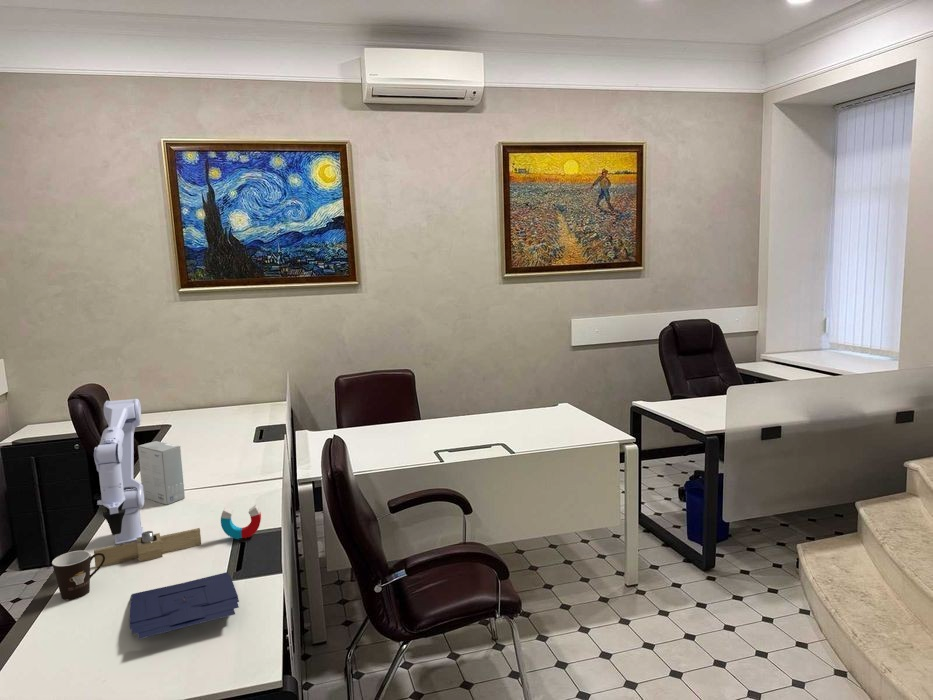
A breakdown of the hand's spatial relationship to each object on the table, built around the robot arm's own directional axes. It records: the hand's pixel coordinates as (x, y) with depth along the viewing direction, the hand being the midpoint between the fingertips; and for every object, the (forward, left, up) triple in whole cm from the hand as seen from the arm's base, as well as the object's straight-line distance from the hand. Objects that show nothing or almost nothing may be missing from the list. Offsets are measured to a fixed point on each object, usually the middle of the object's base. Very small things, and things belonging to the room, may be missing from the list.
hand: (116, 528), depth 185 cm
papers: (+40, +14, -10) cm, 43 cm away
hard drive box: (-46, +15, -10) cm, 49 cm away
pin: (+2, +8, -9) cm, 12 cm away
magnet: (+4, +34, -10) cm, 36 cm away
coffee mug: (+16, -9, -10) cm, 21 cm away
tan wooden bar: (+2, +8, -9) cm, 13 cm away
